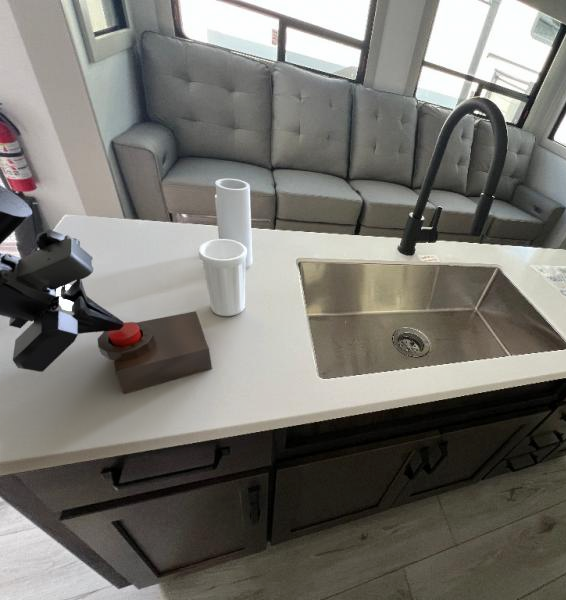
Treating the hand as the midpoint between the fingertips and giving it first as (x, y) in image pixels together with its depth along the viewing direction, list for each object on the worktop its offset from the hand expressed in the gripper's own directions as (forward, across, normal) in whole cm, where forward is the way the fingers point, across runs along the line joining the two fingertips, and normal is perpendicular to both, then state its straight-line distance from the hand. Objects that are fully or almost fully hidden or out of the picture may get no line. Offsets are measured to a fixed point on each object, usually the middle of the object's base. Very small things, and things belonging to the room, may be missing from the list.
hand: (121, 326), depth 49 cm
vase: (+23, +29, -10) cm, 38 cm away
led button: (+2, 0, +2) cm, 2 cm away
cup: (+18, +10, -5) cm, 21 cm away
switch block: (+9, 0, +4) cm, 10 cm away
